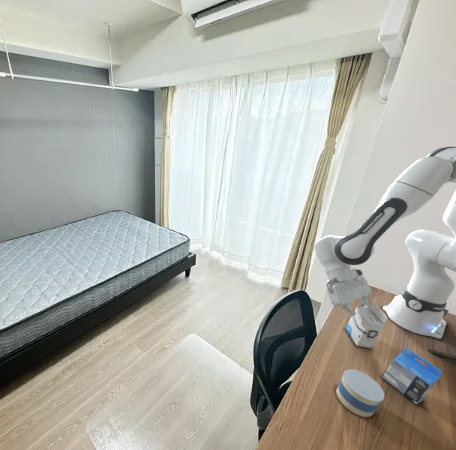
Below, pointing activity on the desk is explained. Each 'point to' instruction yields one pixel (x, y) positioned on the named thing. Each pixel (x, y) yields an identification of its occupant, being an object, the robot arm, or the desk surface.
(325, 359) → the desk surface
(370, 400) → the yogurt tub
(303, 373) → the desk surface
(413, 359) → the label tape box
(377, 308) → the ink box
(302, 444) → the desk surface
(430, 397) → the desk surface
